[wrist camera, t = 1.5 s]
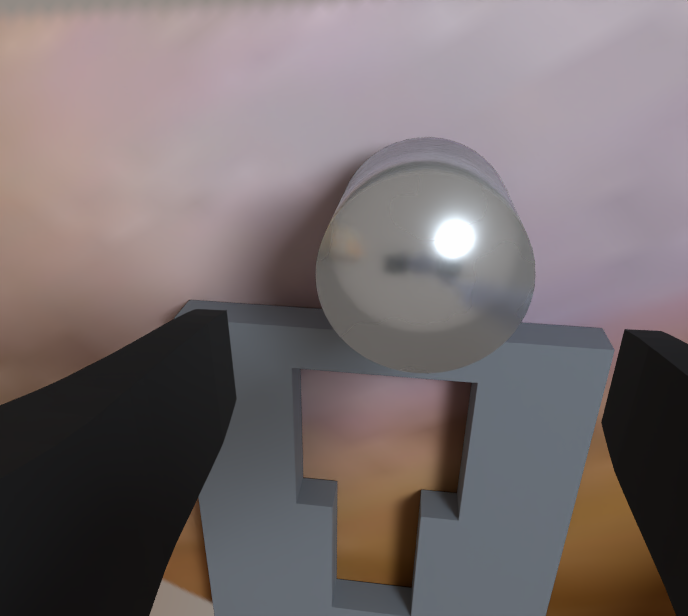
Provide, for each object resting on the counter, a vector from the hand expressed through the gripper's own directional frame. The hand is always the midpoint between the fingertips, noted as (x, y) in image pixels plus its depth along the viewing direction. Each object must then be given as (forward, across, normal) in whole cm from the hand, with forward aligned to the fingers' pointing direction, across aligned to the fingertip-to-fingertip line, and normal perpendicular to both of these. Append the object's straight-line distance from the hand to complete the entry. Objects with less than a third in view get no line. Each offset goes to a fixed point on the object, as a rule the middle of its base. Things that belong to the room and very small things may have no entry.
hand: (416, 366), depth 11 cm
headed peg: (+10, 0, 0) cm, 10 cm away
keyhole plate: (+10, +1, +13) cm, 16 cm away
